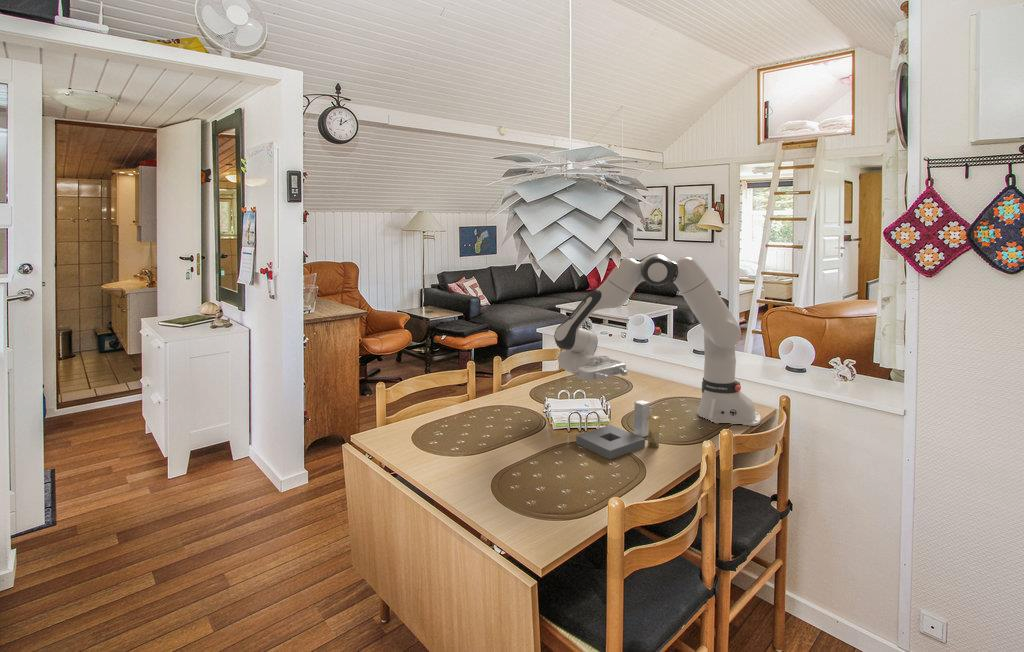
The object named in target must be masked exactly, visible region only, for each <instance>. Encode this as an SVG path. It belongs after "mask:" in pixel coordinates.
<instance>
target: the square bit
mask: <svg viewBox="0 0 1024 652" xmlns="http://www.w3.org/2000/svg"><path fill="white" fill-rule="evenodd" d="M650 405H651V404H650V401H646V400H642V399H640V400H637V401H634V409H633V411H634V412H633V434H634V435H637V436H639V437H642V438H645V437H648V422H649V416H650V407H651V406H650Z"/></svg>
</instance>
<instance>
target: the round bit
mask: <svg viewBox="0 0 1024 652" xmlns="http://www.w3.org/2000/svg"><path fill="white" fill-rule="evenodd" d="M660 424H661V417H660V416H658V415H649V422H648V436H647V447H648V448H650V449H658V448H659V446H660Z"/></svg>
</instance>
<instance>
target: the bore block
mask: <svg viewBox="0 0 1024 652" xmlns="http://www.w3.org/2000/svg"><path fill="white" fill-rule="evenodd" d="M575 443H576V445H578V446H580V447H583V448H585V449H586V450H589V451H591V452H593V453H595V454H597V455H599V456H601V457H603V458H605V459H606V460H607V459H608V460H613V459H617V458H618V457H621V455H622V456H624V454H625V455H627V454H630V453H633V452H636V451H638V450H642V449H643V448H646V447H645V446H646V438H645V437H643V438H642V437H639V436H637V435H634V433H632V432H630V431H627V430H624V429H623V428H620V427H617V426H615V425H612V424H608V425H605V426H602V427H598V428H595V429H593V430H592V429H591V430H589V431H586V432H582V433H579V434H576V435H575Z"/></svg>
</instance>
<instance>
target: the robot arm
mask: <svg viewBox="0 0 1024 652" xmlns="http://www.w3.org/2000/svg"><path fill="white" fill-rule="evenodd" d="M619 262H620V261H619ZM642 282H646V283H647V284H649V285H652V286H657V287H658V286H664V285H667V284H670V283H673V284H674V285H675V286H676V287H677V289H678V291H679V292H680V294H681V295H682V297H683V299H684V300H685V301H686V303H687V305H688V307H689V308H690V310H691V312H692V314H693V315H694V316H695V318H696V320H697V321H698V322H699V324H700V326H701V328H702V329H703V345H704V346H703V347H704V349H703V351H704V362H703V363H704V366H703V377H702V381H701V393H702V394H701V399H700V403H699V407H698V410H697V413H696V414H697V415H698V416H699V417H701V418H702V417H703V419H704V418H705V420H707V419H708V420H707V421H709V420H710V421H711V422H710V421H709V422H710V423H712V422H714V423H713V424H719V423H733V424H743V425H742V426H747V425H748V427H749V426H750V427H751V426H752V427H756V426H759V424H761V421H762V416H761V414H760V413H759V412H757V411H756V408H755V404H754V402H753V400H752V399H751V398H750V397H748V395H746V394H745V393H743V392H742V391H741V388H742V387H741V382H740V381H737V380H736V365H737V357H736V345H737V344H738V343H739V342H740V340H741V337H742V330H741V329H742V328H741V325H739V323H738V321H737V320H736V318H735V317H734V315H733V314H732V312H731V310H730V309H729V307H728V306H727V305H726V303H725V301H724V300H723V298H722V297H721V296H720V294H719V292H718V291H717V289H716V288H715V286H714V284H713V283H712V282H711V280H710V278H709V277H708V275H707V273H706V271H704V269H703V268H702V267H701V266H700V264H699V263H698V262H697V261H696V260H695V259H694V258H692V257H690V256H687V257H685V256H684V257H680V258H679V259H677V260H671V259H670V258H669V257H667V256H666V255H664V254H661V253H659V252H658V253H652V254H649V255H647V256H646V257H644V258H641V259H639V260H638V261H637V260H636V259H634V258H630V257H626V258H622V259H621V262H620V268H617V267H616V266H614V268H613V269H612V270H611V272H610V273H609V274H608V276H607V277H606V279H605V280H604V281H603V283H602V284H600V286H599V287H597V288H596V289H594V290H592V291H590V292H589V293H588V294H586V296H585V297H584V298H583V299H582V300H581V301H580V303H579V304H578V305H577V306H576V307H575V309H574V310H573V311H572V312H571V313H570V314H569V315H568V317H567V318H566V319H565V320H564V321H563V322H562V323H560V324H559V325H558V326H557V328H556V329H555V331H554V335H553V337H554V342H555V344H556V346H557V347H558V348H559V349H562V350H561V351H560V352H559V354H558V357H557V362H558V364H559V367H561V369H563V370H565V371H566V372H568V373H570V374H572V375H576V378H578V379H580V380H581V381H583V382H584V381H585V382H591V381H595V380H602V381H607V380H609V378H610V377H613V376H618V375H621V376H624V377H625V376H627V375H628V370H626V369H627V366H626V363H625V362H623V361H620V360H617V359H614V358H610V356H608V355H603V356H602V355H600V356H599V355H597V356H596V355H595V353H596V350H597V348H598V341H599V340H598V337H597V334H596V333H595V332H593V330H592V331H591V330H588V329H586V328H583V327H582V326H583V324H584V323H585V322H586V321H587V320H588V319H589V317H590V316H591V315H592V314H593V313H595V312H597V311H599V310H604V309H616V308H620V307H622V306H623V305H625V304H626V302H627V301H628V300H629V299H630V297H631V296H632V294H633V293H634V291H635V290H636V288H637V287H638V286H639V284H640V283H642ZM718 422H719V423H718ZM733 424H732V425H733Z"/></svg>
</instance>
